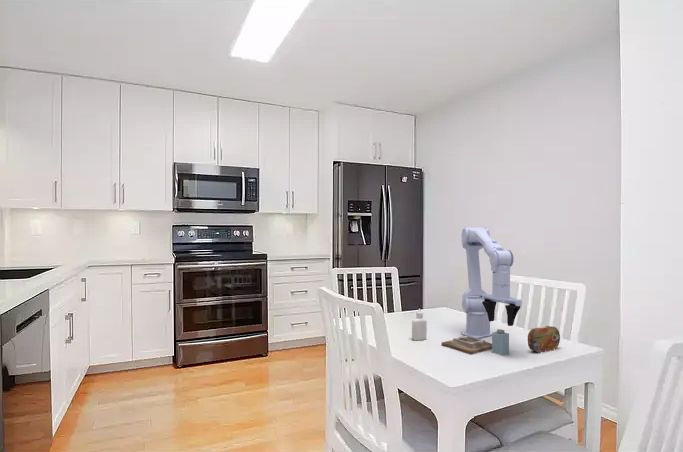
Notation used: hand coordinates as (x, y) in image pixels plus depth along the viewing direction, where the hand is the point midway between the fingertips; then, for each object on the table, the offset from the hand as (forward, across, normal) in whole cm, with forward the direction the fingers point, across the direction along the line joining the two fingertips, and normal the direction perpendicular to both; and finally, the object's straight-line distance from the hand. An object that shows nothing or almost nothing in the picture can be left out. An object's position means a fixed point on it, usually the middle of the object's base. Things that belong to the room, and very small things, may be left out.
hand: (500, 323), depth 141 cm
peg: (+10, 0, 0) cm, 10 cm away
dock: (+10, +11, +3) cm, 15 cm away
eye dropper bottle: (+11, +27, +13) cm, 32 cm away
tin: (+11, -6, -17) cm, 21 cm away
